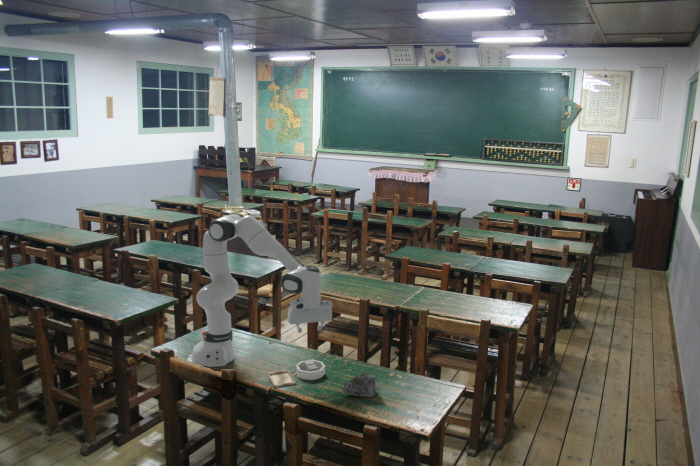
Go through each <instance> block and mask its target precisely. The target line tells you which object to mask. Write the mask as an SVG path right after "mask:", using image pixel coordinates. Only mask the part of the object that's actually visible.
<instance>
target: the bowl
mask: <svg viewBox="0 0 700 466" xmlns="http://www.w3.org/2000/svg"><path fill="white" fill-rule="evenodd" d="M311 360H312V361H313V362H314V363H315V365H316V366H317V367H318V371H311V372H308V371H304V361H307V360H301V361H300V362H299V363H297V364H296V365H295V373H296V376H297V378H299V379H302V380H304V381H305V380H306V381H315V380H319V379H321V378H323V377H324V376H325V374H326V365H325V364H324V362H323V361H320V360H315V359H311Z"/></svg>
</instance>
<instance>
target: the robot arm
mask: <svg viewBox="0 0 700 466" xmlns="http://www.w3.org/2000/svg"><path fill="white" fill-rule="evenodd" d="M237 237H239V238H241V239H242V240H243V241H244V243H245V244H246V246H247V247H248V248H249V249H250V250H251V251H252V252H253V253H255V254H256V255H257V256H260V257H261V256H262V257H270V258H274V259H276V260H277V261H278V262H279V263H281V264H282V265H283V267H285V269H287V270H288V271H287V272H285V274H283V275H282V276H281V278H280V287H281V288H282V290H283V291H284V292H285V293H287V294H300V296H299V297H297V298H295V299H291V300H290V301H289V304H290V306H289V307H288V311H287V319H286V320H287V322H288V324H290V325H295V326H296V329H297V333H302V332H303V331H302V330H303V328H302V327H300V325H301V324H308V323H309V324H311V323H318V322H319V325H317V331H322V330H323V326H324V325H325V322H330V321H332V319H333V311H332V309H333V302H332V301H330V300H328V299H327V300H321V298H322V297H321V296H322V295H321V288H322V275H321V270H320V269H319V268H318V267H317V266H314V265H308V264H307V265H306V264H305V265H304V264H303V263H301V262H300V261H299V260H298V259H297V258H296V256H294V255H293V253H291V252H290V251H289V250H288V249H287V248H286V247H285V246H284V245H283V244H282V243H281V242H279V241H278V240H277V239H276V238H275V237H274V236H273V235H272V234H271V233H270V232H269V230H267V228H266V227H265V226H264V225H263V224H262V223H261V222H260V221H259V220H258V219H257V218H256V217H254V216H253V215H250V214H248V215H243V214H241V213H230V214H225V215H224V216H221V217H218V218H216V219H213V220H212V221H211V222H210V223H209V225H208V230H207V231H205V233H204V234H203V239H202V258H203V269H204V271H205V273H208V274H209V276H210V279H211V282H210V283H208V284H206V285H204V286H203V287H201V288H200V289H199V291H198V292H197V294H196V301H197V305H199V307H201V308H202V309H203V311H204V312H205V314H206V320H207V321H206V323H207V330H202V331H201V336H203V339H202V340H200V341H199V342H198V343H197V344H195V345H194V347H193V349H192V353H191V354H190V355H188V357H187V362H188V361H190V362H192V363H196V364H199V365H203V366H207V367H206V368H213V367H225V366H227V365H228V364H229V363H231V362H233V361H234V360H235V359H236V354H235V351H234V345H233V339H234V338H233V336H234V335H233V334H234V333H233V330H232V315H231V313H230V312H229V311H227V310H226V306H225V304H226V302H227V301H229V300H231V299H233V298H234V297H235V296H236V295H237V293H238V292H239V283H238V280H237V279H235V277H233V276H232V274H231V271H230V267H229V260H228V259H229V258H228V244H227V243H228V241H230V240H232V239H233V240H234V239H235V238H237Z"/></svg>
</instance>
